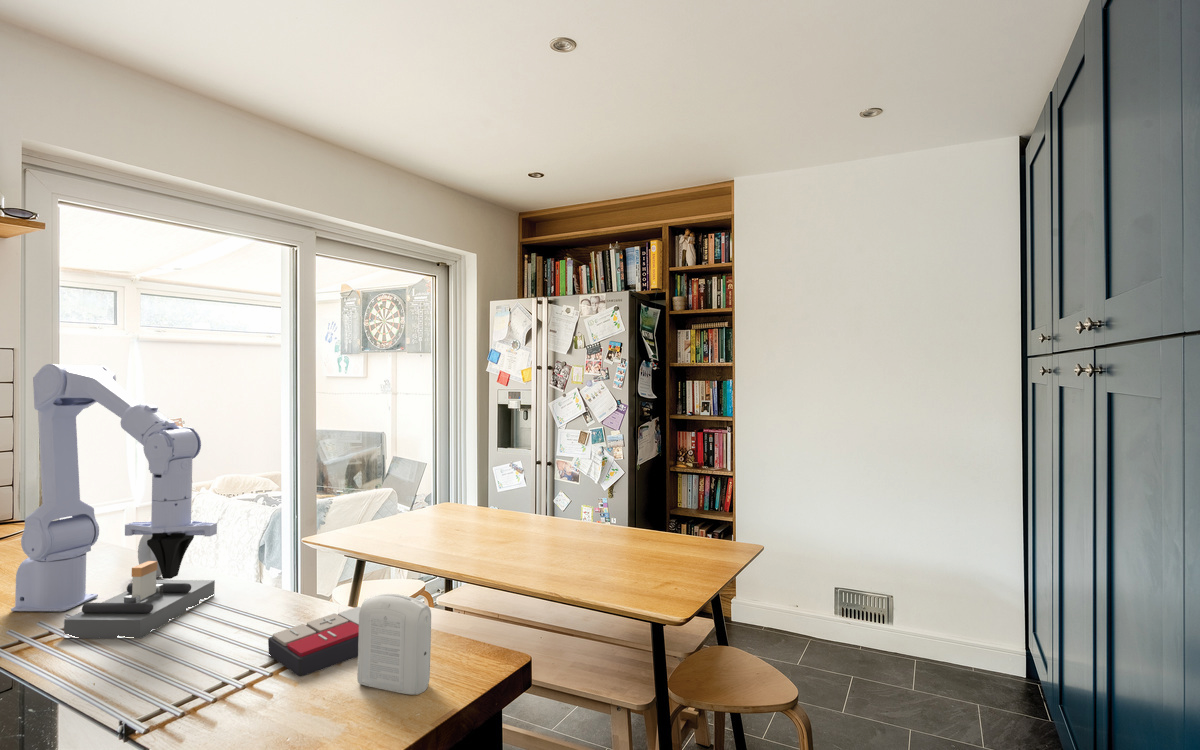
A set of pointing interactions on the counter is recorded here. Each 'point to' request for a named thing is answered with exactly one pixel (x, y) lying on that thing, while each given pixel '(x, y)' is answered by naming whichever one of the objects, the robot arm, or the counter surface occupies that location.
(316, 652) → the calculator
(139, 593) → the lever
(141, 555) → the donut
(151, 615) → the box
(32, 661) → the counter surface
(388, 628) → the photo printer
